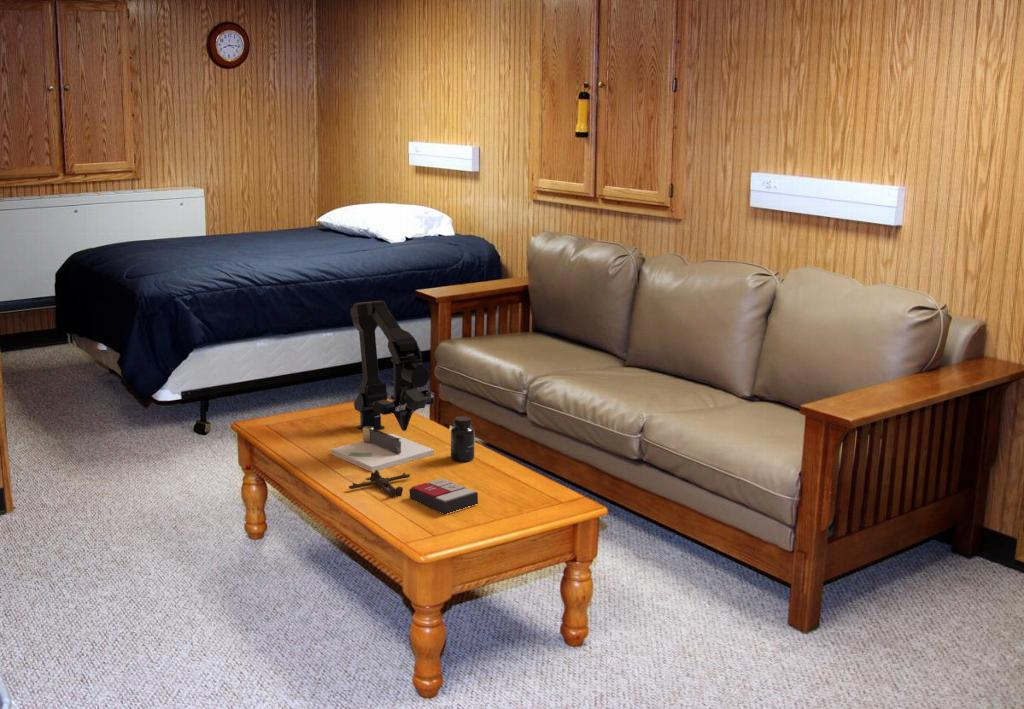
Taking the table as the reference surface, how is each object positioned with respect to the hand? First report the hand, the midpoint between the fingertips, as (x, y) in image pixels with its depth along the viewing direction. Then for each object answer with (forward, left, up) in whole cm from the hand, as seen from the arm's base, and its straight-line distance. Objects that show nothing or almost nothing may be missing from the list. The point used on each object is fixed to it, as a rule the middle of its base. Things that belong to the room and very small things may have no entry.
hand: (404, 430), depth 316 cm
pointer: (-1, -7, -4) cm, 8 cm away
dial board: (0, -8, -6) cm, 10 cm away
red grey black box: (+40, -18, -6) cm, 44 cm away
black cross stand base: (+22, -24, -6) cm, 33 cm away
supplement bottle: (+18, +7, -6) cm, 20 cm away
